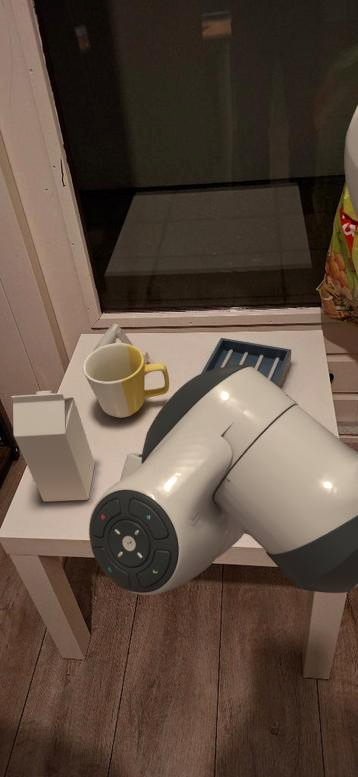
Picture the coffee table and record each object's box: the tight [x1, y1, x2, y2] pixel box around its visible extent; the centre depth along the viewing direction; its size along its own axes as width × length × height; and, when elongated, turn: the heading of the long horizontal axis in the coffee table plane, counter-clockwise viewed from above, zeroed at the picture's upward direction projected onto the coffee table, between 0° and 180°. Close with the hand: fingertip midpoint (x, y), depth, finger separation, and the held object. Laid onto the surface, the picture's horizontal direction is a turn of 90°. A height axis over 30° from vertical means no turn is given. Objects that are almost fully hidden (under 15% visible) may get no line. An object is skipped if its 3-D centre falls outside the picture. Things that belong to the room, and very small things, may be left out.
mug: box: [82, 342, 170, 418], centre depth 93 cm, size 14×10×10 cm
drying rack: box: [200, 337, 292, 390], centre depth 98 cm, size 14×11×4 cm
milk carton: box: [10, 390, 96, 502], centre depth 79 cm, size 7×7×19 cm
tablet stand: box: [92, 323, 150, 365], centre depth 101 cm, size 9×8×8 cm
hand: (237, 489), depth 63 cm, fingers open, 8 cm apart
